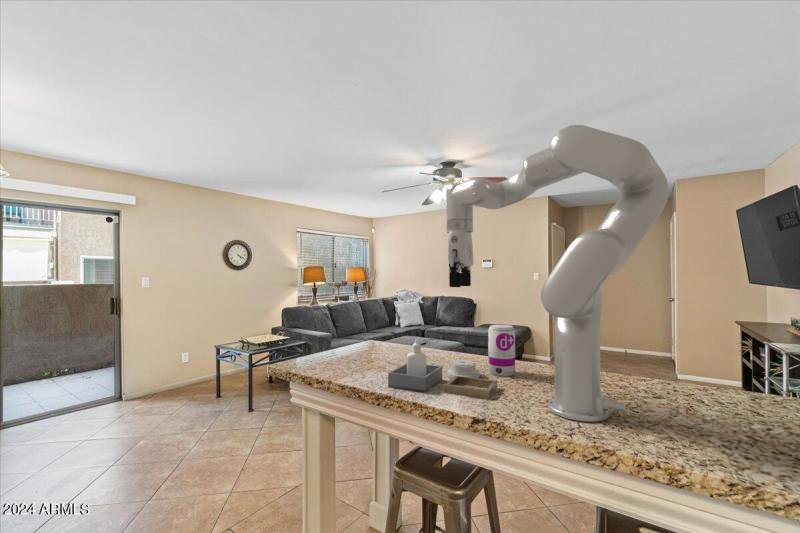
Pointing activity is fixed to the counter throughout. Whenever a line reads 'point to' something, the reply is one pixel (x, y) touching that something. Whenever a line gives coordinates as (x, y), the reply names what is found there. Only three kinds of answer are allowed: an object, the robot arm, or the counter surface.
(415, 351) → the eye dropper bottle
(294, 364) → the counter surface
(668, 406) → the counter surface
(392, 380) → the bin
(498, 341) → the supplement can
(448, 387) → the shallow brown tray
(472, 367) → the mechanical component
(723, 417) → the counter surface
